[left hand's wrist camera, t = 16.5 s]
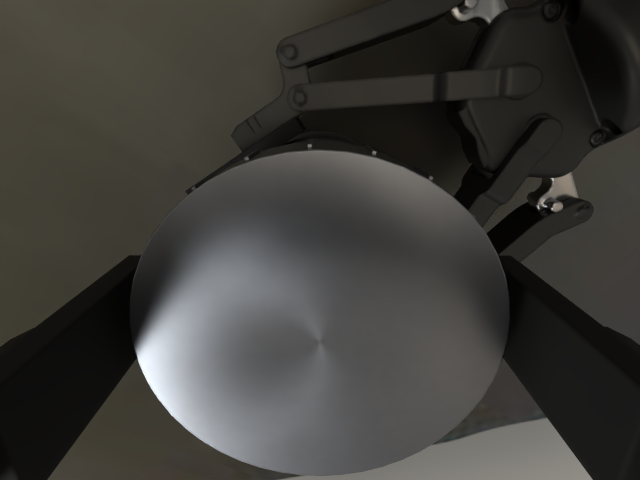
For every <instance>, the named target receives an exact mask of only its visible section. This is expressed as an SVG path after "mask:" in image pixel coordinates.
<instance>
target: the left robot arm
mask: <svg viewBox="0 0 640 480" xmlns="http://www.w3.org/2000/svg"><path fill="white" fill-rule="evenodd" d="M140 257H141V256H128V257H127V258H125V259H124V260H123V261H121V262H120V263H119V264H117V265H116V266H115V267H114V268H112V269H111V270H110V271H108V272H107V273H106V274H104V275H103V276H102V277H101V278H99V279H98V280H97V281H95V282H94V283H93V284H91V285H90V286H89V287H87V288H86V289H85V290H84V291H82V292H81V293H80V294H78V295H77V296H76V297H74V298H73V299H72V300H70V301H69V302H68V303H67V304H65V305H64V306H63V307H61V308H60V309H59V310H57V311H56V312H55V313H53V314H52V315H51V316H50V317H48V318H47V319H46V320H44V321H43V322H42V323H40V324H39V325H38V326H37V327H35V328H33V329H31V330H29V331H27V332H25V333H23V334H21V335H19V336H17V337H15V338H13V339H11V340H9V341H8V342H6V343H5V344H4V345H2V346H1V347H0V480H47V479H48V478H49V476H50V475H51V474H52V472H53V471H54V470H55V468H56V467H57V465H58V464H59V463H60V461H61V460H62V459H63V457H64V456H65V455H66V453H67V452H68V451H69V449H70V448H71V446H72V445H73V444H74V442H75V441H76V440H77V438H78V437H79V436H80V434H81V433H82V432H83V430H84V429H85V427H86V426H87V425H88V423H89V422H90V421H91V419H92V418H93V417H94V415H95V414H96V413H97V411H98V410H99V409H100V407H101V406H102V404H103V403H104V402H105V400H106V399H107V398H108V396H109V395H110V394H111V392H112V391H113V390H114V388H115V387H116V385H117V384H118V383H119V381H120V380H121V379H122V377H123V376H124V375H125V373H126V372H127V371H128V369H129V368H130V366H131V365H132V364H133V362H134V361H135V360H136V358H137V356H136V353H135V350H134V346H133V343H132V336H131V329H130V296H131V290H132V284H133V278H134V275H135V272H136V269H137V266H138V263H139V260H140ZM498 257H499V260H500V262H501V265H502V268H503V271H504V273H505V277H506V282H507V288H508V293H509V302H510V324H509V332H508V340H507V344H506V347H505V351H504V355H503V358H504V360H505V361H506V362H507V364H508V365H509V366H510V368H511V369H512V371H513V372H514V373H515V375H516V376H517V377H518V379H519V380H520V381H521V383H522V384H523V385H524V387H525V388H526V390H527V391H528V392H529V394H530V395H531V396H532V398H533V399H534V400H535V402H536V403H537V404H538V406H539V407H540V409H541V410H542V411H543V413H544V414H545V415H546V417H547V418H548V419H549V421H550V422H551V423H552V425H553V426H554V427H555V429H556V430H557V432H558V433H559V434H560V436H561V437H562V438H563V440H564V441H565V442H566V444H567V445H568V446H569V448H570V449H571V451H572V452H573V453H574V455H575V456H576V457H577V459H578V460H579V461H580V463H581V464H582V465H583V467H584V468H585V469H586V471H587V472H588V474H589V475H590V476H591V478H592V479H593V480H640V345H639V344H637V343H636V342H634V341H633V340H632V339H630V338H629V337H626V336H624V335H622V334H620V333H618V332H616V331H614V330H612V329H610V328H608V327H603V326H602V325H601V324H600V323H598V322H597V321H596V320H594V319H593V318H592V317H590V316H589V315H588V314H587V313H585V312H584V311H583V310H581V309H580V308H579V307H577V306H576V305H575V304H573V303H572V302H571V301H570V300H568V299H567V298H566V297H564V296H563V295H562V294H560V293H559V292H558V291H556V290H555V289H554V288H553V287H551V286H550V285H549V284H547V283H546V282H545V281H543V280H542V279H541V278H539V277H538V276H537V275H536V274H534V273H533V272H532V271H530V270H529V269H528V268H526V267H525V266H524V265H523V264H521V263H520V262H519V261H517V260H516V259H515V258H513V257H512V256H498Z"/></svg>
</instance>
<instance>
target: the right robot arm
mask: <svg viewBox="0 0 640 480" xmlns="http://www.w3.org/2000/svg"><path fill="white" fill-rule="evenodd" d="M443 16H445V18H446V20H447V21H448V22H449V23H450V24H451V25H455V26H456V25H460V24H463V23H465V22H474V23H476V24H477V25H478V26H479V27H480V29H479V31H478V33H477V35H476V37H475V39H474V41H473V43H472V45H471V47H470V49H469V51H468V54H467V56H466V58H465V60H464V62H463V64H462V66H461V68H460V70H459V71H451V72H442V73H434V74H422V75H408V76H395V77H382V78H369V79H355V80H342V81H329V82H316V83H311V82H310V77H309V73H308V68H310V67H313V66H316V65H319V64H322V63H325V62H327V61H330V60H333V59H336V58H339V57H342V56H344V55H347V54H350V53H353V52H356V51H359V50H361V49H364V48H367V47H370V46H373V45H376V44H378V43H381V42H384V41H387V40H390V39H393V38H395V37H398V36H401V35H404V34H407V33H410V32H412V31H415V30H418V29H421V28H423V27H426V26H428V25H430V24H432V23H434V22H435V21H437V20H439V19H440V18H441V17H443ZM276 52H277V58H278V60H279V64H280V68H281V72H282V77H283V83H284V84H283V90H282V92H281V94H280V95H279V96H278V97H277V98H276V99H275V100H273V101H272V102H271V103H269V104H268V105H266V106H265V107H263V108H262V109H261V110H259V111H258V112H256V113H255V114H254V115H252V116H251V117H249V118H248V119H246V120H245V121H243V122H242V123H241V124H239V125H238V126H237V127H236V128H235V130H234V132H233V133H232V135H231V136H232V138H233V139H234V140H235V142H236V143H237V145H238V146H239V148H240V149H241V151H242V153H241V154H239V155H238V156H236V157H235V158H233V159H232V160H231V161H229V162H228V163H226V164H225V165H223V166H222V167H220V168H219V169H217V170H216V171H214V172H213V173H211V174H210V175H208V176H207V177H206V178H204V179H203V180H205V179H207V178H208V177H210V176H212V175H213V176H215V175H217V174H218V173H220V172H222V171H223V170H225V169H226V168H228V167H230V166H231V165H233V164H235V163H237V162H239V161H241V160H243V159H244V157H246V156H248V155H249V154H251V153H252V152H254V151H255V150H258V149H259V151H260V152H262V151H264V150H267V149H270V148H274V147H278V146H282V145H284V144H285V143H286V142H288V141H289V140H291V139H292V138H294V137H295V136H297V135H298V134H300V133H301V132H303V131H304V130H305V127H304V125H303V124H302V122H301V120H300V119H299V117H298V116H300V115H301V114H303V113H304V112H306V111H319V110H333V109H346V108H360V107H373V106H387V105H401V104H414V103H428V102H442V101H447V110H446V111H445V114H446V116H447V118H448V120H449V122H450V125H451V126H452V127H453V128H454V129H455V130H456V131H457V132H458V133H459V134H460V136H461V141H462V147H463V151H464V153H465V155H466V157H467V160H468V162H469V163H472V165H471V166H470V168H469V169H468V171H467V172H466V174H465V175H464V177H463V179H462V185H461V187H460V189H459V190H458V191H457V193H456V194H455V196H454V197H455V198H456V199H457V200H458V201H459V202H460V203H461V204H462V205H463V206H464V207H465V208H466V209H467V210H468V211H469V212H470V213H472V214H473V215H474V216H475V217H476V218H475V219H476V220H477V222H478V223H479V224H480V226H481V227H483V226H484V225H485V223H486V222H487V221H488V219H489V218H490V217H491V215H492V214H493V213H494V211H495V210H496V209H497V208H498V207H499V206H500V205H503V204H505V203H507V202H508V201H509V200H510V199H511V198H512V196H513V195H514V194H515V192H516V191H517V190H518V188H519V187H520V186H521V184H522V183H523V182H524V180H525V179H526V178H527V177H540V178H542V183H541V185H540V187H539V188H538V189H537V190H536V191H534V192H531V193H529V194H528V196H527V200H528V202H527V203H525V204H523V205H521V206H520V207H518V208H517V209H515V210H514V211H512V212H511V213H510V214H509V215H507V216H506V217H505V218H504V219H503V220H502V221H500V222H499V223H498V224H497V225H496V226H495V227H494V228H492V229H491V230H490V231H489V232H488V233H487V236H488V237H489V239H490V241H491V243H492V245H493V247H494V248H495V250H496V252H497V254H498V256H512V257H513V258H515V259H516V260H517V261H519V262H521V261H522V260H524V259H525V258H526V257H527V256H528V255H530V254H531V253H532V252H533V251H535V250H536V249H537V248H538V247H539V246H541V245H542V244H543V243H544V242H545V241H547V240H548V239H549V238H550V237H552V236H554V235H556V234H558V233H560V232H563V231H565V230H567V229H570V228H572V227H574V226H577V225H579V224H581V223H583V222H585V221H587V220H588V219H589V218H590V217H591V216H592V213H593V206H592V204H591V203H590V202H588V201H585V200H582V199H579V198H578V195H577V191H576V188H575V184H574V180H573V176H572V173H571V172H572V171H573V170H574V169H575V168H576V167H577V166H578V164H579V163H580V162H581V160H582V159H583V158H584V157H585V156H586V155H587V154H588V153H589V152H590V151H592V150H593V149H595V148H597V147H599V146H601V145H603V144H606V143H608V142H610V141H613V140H615V139H617V138H619V137H621V136H623V135H625V134H627V133H629V132H631V131H633V130H634V129H636V128H638V127H640V0H538V1H536V2H535V3H533V4H531V5H530V6H527V7H520V8H510V9H508V8H507V6H506V4H505V2H504V0H387V1H385V2H382V3H379V4H376V5H374V6H371V7H368V8H366V9H363V10H360V11H357V12H355V13H352V14H349V15H346V16H344V17H341V18H338V19H335V20H333V21H330V22H327V23H324V24H322V25H319V26H316V27H313V28H311V29H308V30H305V31H303V32H300V33H297V34H294V35H292V36H289V37H286V38H284V39H283V40H281V41H280V43H279V44H278V46H277V50H276ZM203 180H201V181H200V182H202V181H203ZM200 182H198V183H197V184H199V183H200ZM197 184H195V185H197ZM195 185H194V186H195ZM194 186H192V187H194ZM192 187H191V188H192ZM191 188H189V189H188V190H186V192H187V194H190V193H191V192H192V191H193V190H192V189H191Z"/></svg>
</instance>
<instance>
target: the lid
mask: <svg viewBox="0 0 640 480" xmlns="http://www.w3.org/2000/svg"><path fill="white" fill-rule="evenodd" d="M432 180H433V177H432V176H430V175H429V174H427V173H425V172H424V171H422V170H420V169H419V168H417V167H415V166H414V167H413V168H411V167H410V166H408V165H406V164H404V163H402V162H401V161H399V160H397V159H395V158H393V157H391V156H389V155H386V154H384V153H381V152H378V151H375V150H374V149H373V148H371V147H370V146H369V145H366V144H365V145H364V147H362V146H357V145H352V144H347V143H340V142H323V141H314V142H313V139H309V142H301V143H292V144H288V145H283V146H278V147H274V148H270V149H267V150H264V151H262V152H260V151H259V149H258V150H255V151H254V152H252V153H251V154H249V155H248V156H246V157H244V159H243V160H241V161H239V162H237V163H235V164H233V165H231V166H230V167H228V168H226V169H225V170H223V171H222V172H220V173H218V174H217V175H215V176H213V175H212V176H210V177H208V178H207V179H205V180H203V181H202V182H200V183H199V184H197V185H195V186H194V187H192V188H191V189H192V190H193V191H192V192H191V193H190V194H188V195H187V196H185V197H184V198H183V199H182V200H181V201H180V202H179V203H178V204H177V205H176V206H175V207H174V208H173V209H172V210H171V211H170V212H169V213H168V214H167V215H166V217H165V218H164V219H163V221H162V222H161V223H160V225H159V226H158V228H157V229H156V230H155V232H154V233H153V234H152V236H151V238H150V240H149V242H148V244H147V245H146V247H145V249H144V251H143V253H142V255H141V257H140V260H139V263H138V266H137V269H136V272H135V275H134V278H133V284H132V290H131V296H130V329H131V336H132V343H133V346H134V350H135V353H136V356H137V360H138V363H139V365H140V367H141V370H142V372H143V374H144V376H145V378H146V380H147V382H148V384H149V386H150V387H151V389H152V390H153V392H154V393H155V395H156V396H157V398H158V400H159V401H160V402H161V403H162V404H163V406H164V407H165V408H166V409H167V410H168V412H169V413H170V414H171V415H172V416H173V417H174V418H175V419H176V420H177V421H178V422H179V423H180V424H181V425H183V426H184V427H185V428H186V429H187V430H188V431H189V432H191V433H192V434H194V435H195V436H196V437H198V438H199V439H200V440H202V441H203V442H205V443H206V444H208V445H210V446H211V447H213V448H215V449H216V450H218V451H220V452H222V453H224V454H226V455H228V456H231V457H233V458H235V459H237V460H239V461H242V462H245V463H248V464H251V465H254V466H257V467H260V468H264V469H268V470H273V471H277V472H282V473H290V474H297V475H314V476H325V475H343V474H350V473H356V472H363V471H367V470H371V469H375V468H379V467H383V466H386V465H389V464H391V463H394V462H397V461H400V460H403V459H405V458H407V457H409V456H411V455H413V454H415V453H417V452H420V451H422V450H423V449H425V448H426V447H428V446H430V445H431V444H433V443H435V442H436V441H438V440H439V439H441V438H442V437H443V436H445V435H446V434H447V433H449V432H450V431H451V430H452V429H454V428H455V427H456V426H457V425H458V424H459V423H460V422H461V421H462V420H463V419H464V418H465V417H466V416H467V415H468V414H470V412H471V411H472V410H473V409H474V407H475V406H476V405H477V404H478V402H479V401H480V400H481V399H482V397H483V396H484V394H485V393H486V391H487V389H488V388H489V386H490V384H491V383H492V381H493V379H494V377H495V375H496V373H497V370H498V368H499V366H500V364H501V361H502V358H503V355H504V351H505V347H506V344H507V340H508V332H509V324H510V302H509V293H508V288H507V282H506V277H505V273H504V271H503V268H502V265H501V262H500V260H499V257H498V254H497V252H496V250H495V248H494V247H493V245H492V243H491V241H490V239H489V237H488V236H487V234H486V232H485V231H484V229H483V228H482V227H481V226H480V224H479V223H478V222H477V220H476V219H475V218H476V217H475V216H474V215H473V214H472V213H470V212H469V211H468V210H467V209H466V208H465V207H464V206H463V205H462V204H461V203H460V202H459V201H458V200H457V199H456V198H455V197H454V196H453V195H451V194H450V193H449V192H447V191H446V190H444V189H443V188H442V187H440V186H439V185H437V184H436V183H434V182H433V181H432Z"/></svg>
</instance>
